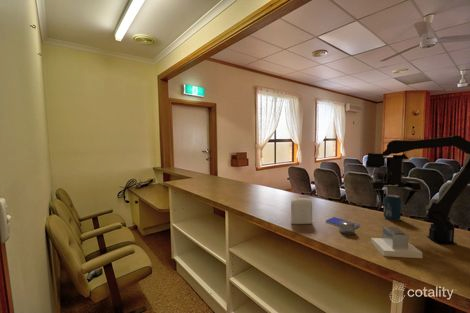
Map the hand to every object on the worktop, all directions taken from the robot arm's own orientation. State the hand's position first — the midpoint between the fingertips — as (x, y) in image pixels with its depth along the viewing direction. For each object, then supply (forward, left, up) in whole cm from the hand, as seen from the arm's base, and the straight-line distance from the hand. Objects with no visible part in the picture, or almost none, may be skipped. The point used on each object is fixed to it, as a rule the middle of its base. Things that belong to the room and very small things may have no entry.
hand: (392, 204), depth 97 cm
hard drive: (+19, -6, -13) cm, 24 cm away
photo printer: (+38, -5, -12) cm, 40 cm away
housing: (+8, +18, -10) cm, 22 cm away
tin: (+20, +4, -12) cm, 24 cm away
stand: (+8, +18, -12) cm, 23 cm away
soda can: (-8, -16, -12) cm, 22 cm away
